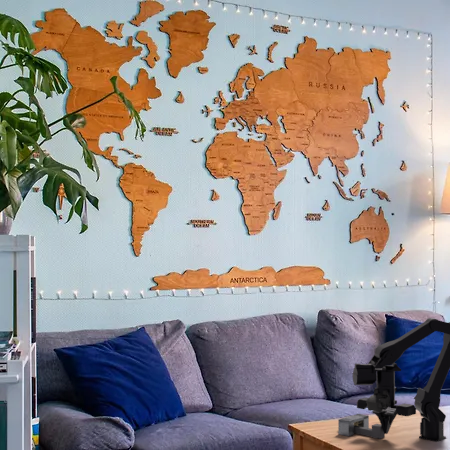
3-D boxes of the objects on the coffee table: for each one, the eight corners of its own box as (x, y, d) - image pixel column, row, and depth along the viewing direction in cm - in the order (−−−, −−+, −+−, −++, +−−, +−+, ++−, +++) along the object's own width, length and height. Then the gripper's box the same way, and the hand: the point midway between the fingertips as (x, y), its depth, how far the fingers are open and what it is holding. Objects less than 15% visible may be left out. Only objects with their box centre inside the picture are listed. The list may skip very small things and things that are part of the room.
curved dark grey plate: (368, 429, 245) (368, 415, 245) (348, 436, 237) (348, 421, 237) (358, 427, 248) (358, 413, 248) (338, 434, 239) (338, 419, 240)
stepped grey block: (384, 437, 236) (384, 425, 236) (379, 438, 234) (379, 426, 234) (355, 431, 243) (355, 419, 244) (350, 432, 241) (350, 421, 241)
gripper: (347, 384, 235) (347, 433, 234) (398, 391, 222) (399, 443, 222) (365, 380, 243) (365, 427, 242) (416, 387, 230) (417, 436, 230)
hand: (385, 433), depth 234 cm, fingers closed
